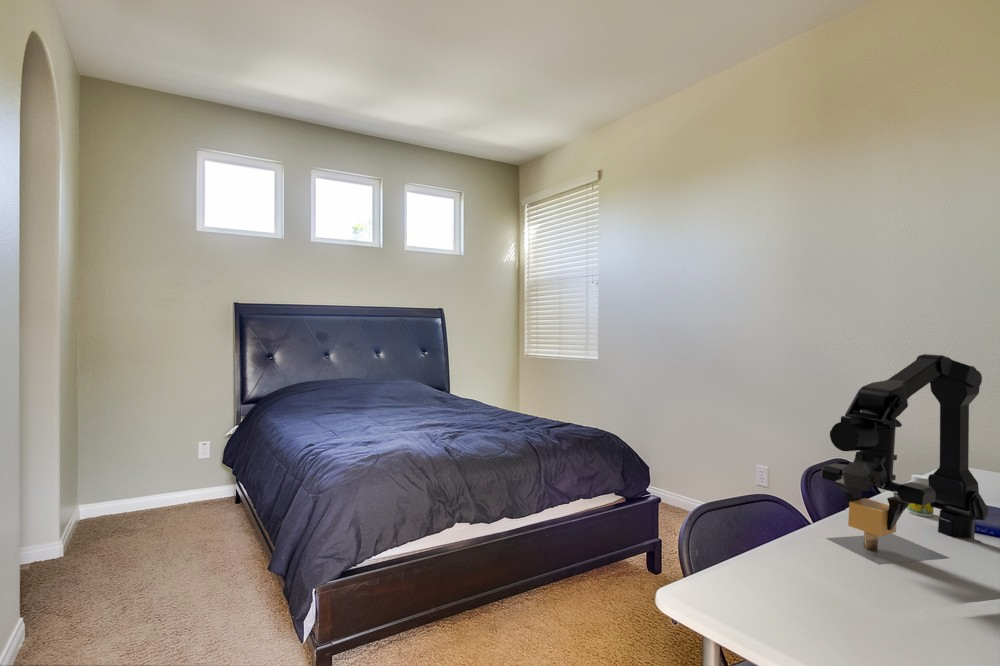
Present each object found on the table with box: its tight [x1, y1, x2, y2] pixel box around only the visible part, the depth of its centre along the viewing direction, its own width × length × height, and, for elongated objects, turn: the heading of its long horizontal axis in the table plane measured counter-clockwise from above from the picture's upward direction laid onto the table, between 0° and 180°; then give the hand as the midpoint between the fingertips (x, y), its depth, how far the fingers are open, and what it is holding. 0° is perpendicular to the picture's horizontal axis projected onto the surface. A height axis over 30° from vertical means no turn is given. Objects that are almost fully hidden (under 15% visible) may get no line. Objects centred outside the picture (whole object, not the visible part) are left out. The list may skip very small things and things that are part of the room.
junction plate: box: [825, 533, 950, 565], centre depth 109 cm, size 18×12×2 cm, turn 104°
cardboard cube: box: [847, 497, 898, 537], centre depth 108 cm, size 6×6×5 cm
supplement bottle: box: [906, 474, 934, 518], centre depth 135 cm, size 5×5×10 cm
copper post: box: [863, 531, 878, 551], centre depth 108 cm, size 2×2×5 cm
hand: (872, 524), depth 108 cm, fingers closed on cardboard cube, 6 cm apart
